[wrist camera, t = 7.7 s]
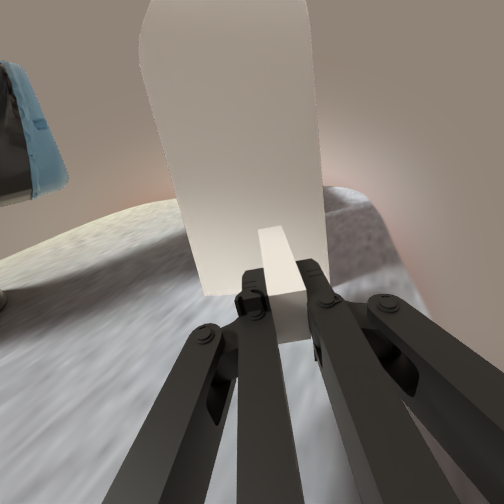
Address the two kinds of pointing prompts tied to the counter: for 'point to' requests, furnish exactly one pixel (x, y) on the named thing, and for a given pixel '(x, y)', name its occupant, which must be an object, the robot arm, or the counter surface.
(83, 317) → the counter surface
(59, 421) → the counter surface
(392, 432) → the robot arm
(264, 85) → the milk
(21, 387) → the counter surface
